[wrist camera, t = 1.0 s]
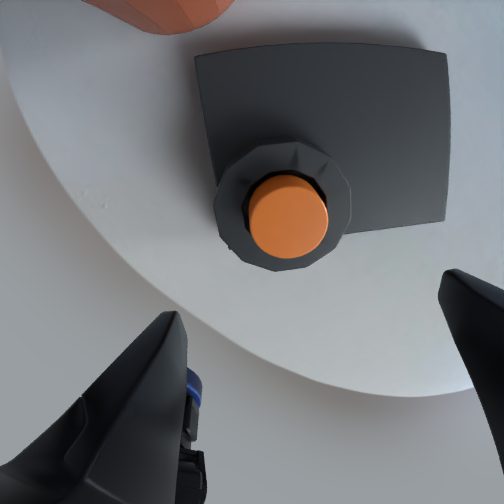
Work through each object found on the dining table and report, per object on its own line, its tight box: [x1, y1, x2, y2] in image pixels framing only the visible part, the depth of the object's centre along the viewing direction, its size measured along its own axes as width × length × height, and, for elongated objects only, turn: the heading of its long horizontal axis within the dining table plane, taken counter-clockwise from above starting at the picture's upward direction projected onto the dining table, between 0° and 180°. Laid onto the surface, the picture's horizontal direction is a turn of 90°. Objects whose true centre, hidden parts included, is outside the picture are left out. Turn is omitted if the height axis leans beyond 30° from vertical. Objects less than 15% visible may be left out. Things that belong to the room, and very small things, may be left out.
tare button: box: [249, 175, 328, 258], centre depth 13 cm, size 3×3×2 cm
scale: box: [194, 43, 451, 272], centre depth 14 cm, size 13×10×4 cm
